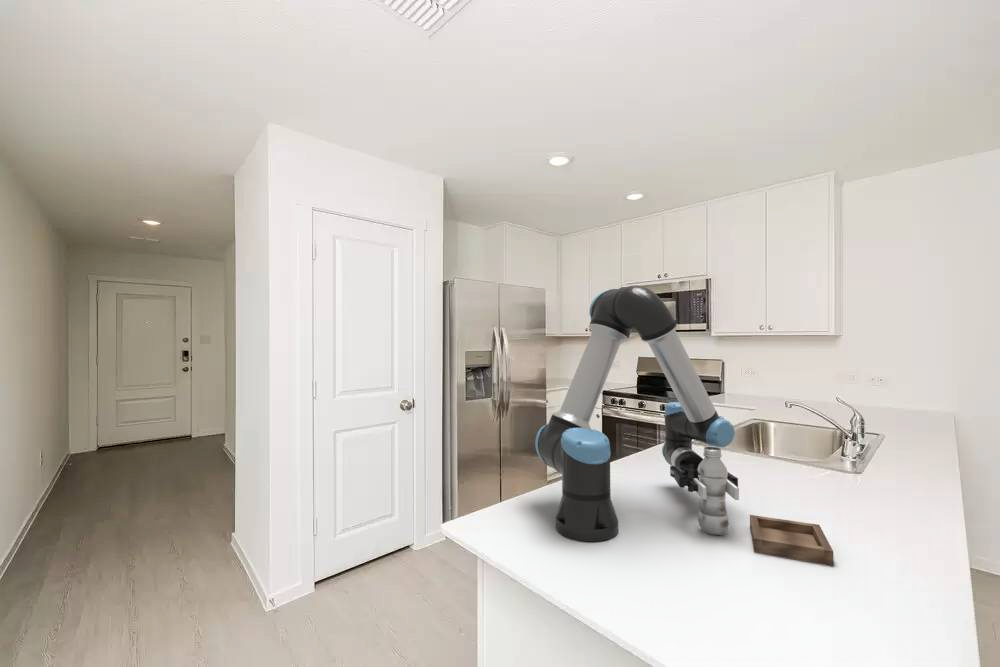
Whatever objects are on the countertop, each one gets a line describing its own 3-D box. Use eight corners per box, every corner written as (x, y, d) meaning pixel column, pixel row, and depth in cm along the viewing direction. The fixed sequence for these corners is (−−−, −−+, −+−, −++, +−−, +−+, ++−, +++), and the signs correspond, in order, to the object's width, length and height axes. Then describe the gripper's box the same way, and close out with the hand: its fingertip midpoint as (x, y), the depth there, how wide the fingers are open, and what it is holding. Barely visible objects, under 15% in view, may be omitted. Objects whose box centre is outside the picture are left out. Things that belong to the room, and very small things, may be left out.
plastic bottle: (734, 538, 103) (733, 452, 103) (704, 538, 103) (704, 452, 103) (721, 526, 109) (720, 445, 109) (693, 526, 109) (692, 445, 110)
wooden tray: (754, 552, 96) (753, 538, 96) (749, 527, 109) (749, 514, 109) (833, 566, 90) (833, 551, 90) (819, 537, 103) (819, 524, 103)
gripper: (725, 478, 123) (766, 511, 100) (653, 477, 125) (677, 509, 102) (724, 451, 123) (765, 478, 100) (652, 450, 125) (676, 476, 102)
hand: (720, 493), depth 101 cm, fingers closed on plastic bottle, 6 cm apart
